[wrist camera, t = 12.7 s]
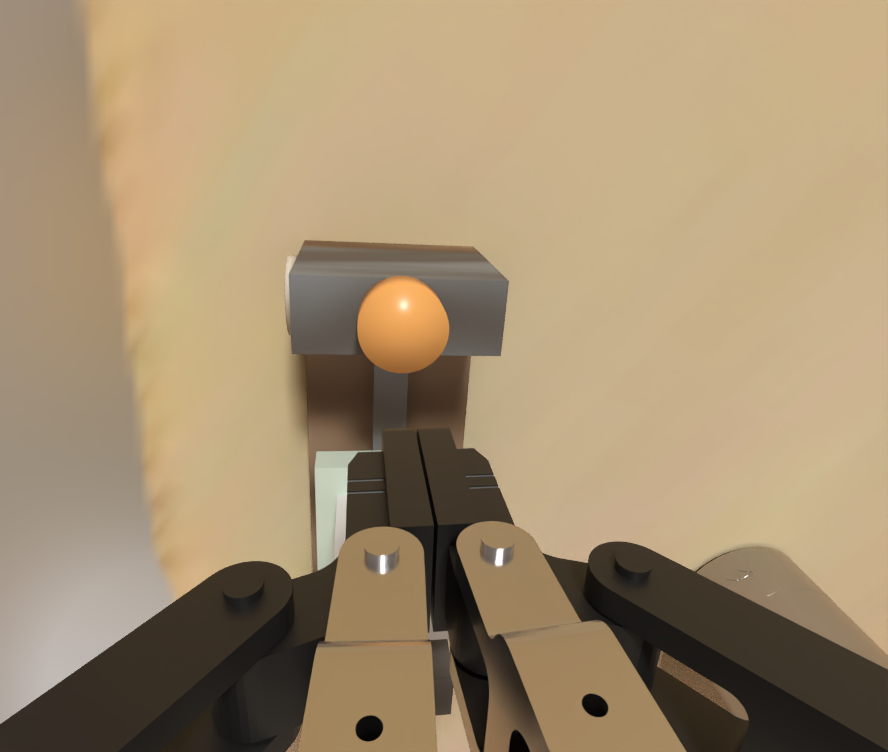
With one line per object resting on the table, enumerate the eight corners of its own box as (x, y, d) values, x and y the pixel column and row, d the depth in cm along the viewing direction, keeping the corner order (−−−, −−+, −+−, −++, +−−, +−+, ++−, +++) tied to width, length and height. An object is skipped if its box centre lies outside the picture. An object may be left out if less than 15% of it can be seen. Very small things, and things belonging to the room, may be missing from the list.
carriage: (316, 451, 27) (303, 557, 21) (459, 449, 28) (491, 548, 22) (319, 551, 30) (308, 675, 23) (451, 545, 31) (478, 663, 24)
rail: (298, 237, 26) (279, 271, 20) (473, 244, 28) (509, 278, 21) (313, 660, 37) (304, 771, 30) (440, 651, 38) (457, 755, 32)
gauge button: (357, 274, 20) (357, 284, 19) (445, 277, 21) (452, 287, 19) (357, 358, 21) (357, 373, 20) (440, 358, 22) (446, 373, 21)
